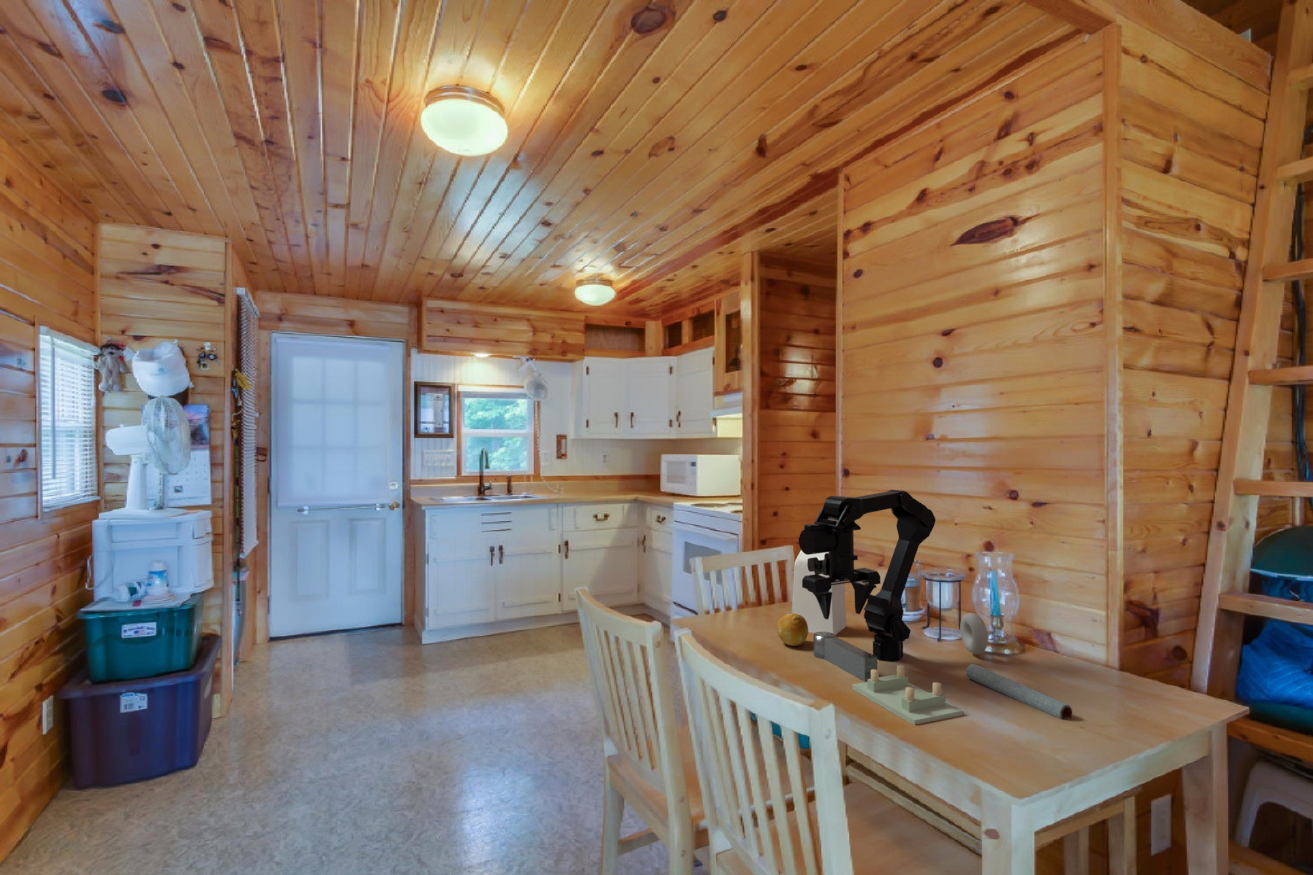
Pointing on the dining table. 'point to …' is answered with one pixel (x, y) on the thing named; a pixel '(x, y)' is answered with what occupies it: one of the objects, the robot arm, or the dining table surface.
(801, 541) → the robot arm
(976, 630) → the donut
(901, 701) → the rack
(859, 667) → the long grey rectangular beam
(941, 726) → the dining table surface
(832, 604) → the milk
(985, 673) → the aluminum foil
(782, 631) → the fruit
